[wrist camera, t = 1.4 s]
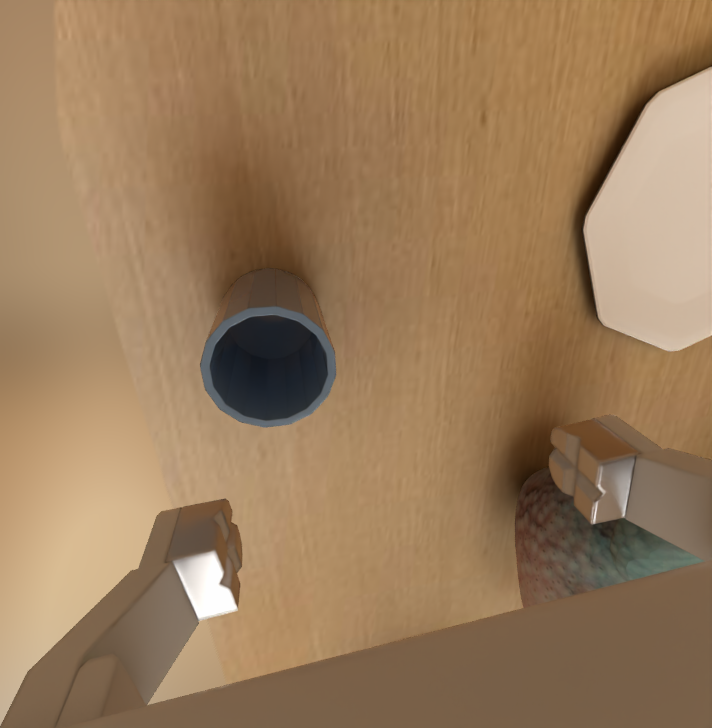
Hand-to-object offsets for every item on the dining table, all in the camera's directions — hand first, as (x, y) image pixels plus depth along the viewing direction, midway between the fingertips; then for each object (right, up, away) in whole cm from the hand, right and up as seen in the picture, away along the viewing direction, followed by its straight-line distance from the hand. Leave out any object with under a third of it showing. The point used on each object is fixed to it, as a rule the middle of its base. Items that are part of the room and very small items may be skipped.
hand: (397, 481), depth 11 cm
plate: (+25, +14, +22) cm, 36 cm away
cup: (-7, +6, +19) cm, 21 cm away
